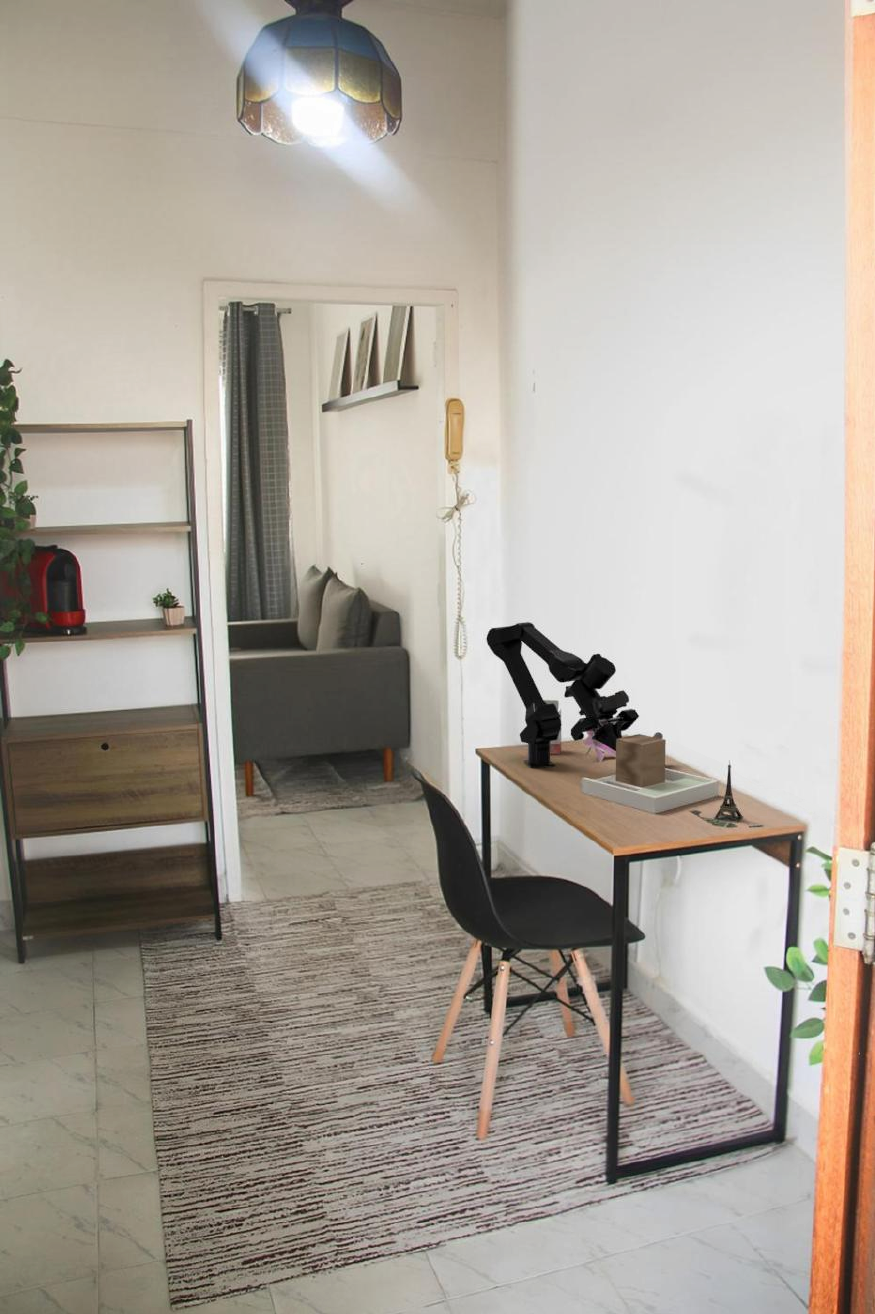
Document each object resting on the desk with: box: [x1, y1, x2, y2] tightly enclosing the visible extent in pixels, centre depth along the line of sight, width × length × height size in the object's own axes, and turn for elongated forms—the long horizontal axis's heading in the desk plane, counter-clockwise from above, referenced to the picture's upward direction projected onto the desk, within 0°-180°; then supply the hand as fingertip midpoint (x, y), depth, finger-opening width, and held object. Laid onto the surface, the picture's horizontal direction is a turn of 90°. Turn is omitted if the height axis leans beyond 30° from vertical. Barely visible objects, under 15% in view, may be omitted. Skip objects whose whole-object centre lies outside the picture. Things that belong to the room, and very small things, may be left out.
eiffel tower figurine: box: [689, 759, 764, 829], centre depth 235 cm, size 15×10×13 cm
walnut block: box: [615, 733, 666, 788], centre depth 256 cm, size 8×8×10 cm
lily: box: [582, 730, 616, 763], centre depth 290 cm, size 12×12×10 cm
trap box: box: [581, 767, 720, 815], centre depth 255 cm, size 22×22×4 cm
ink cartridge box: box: [543, 699, 562, 755], centre depth 297 cm, size 9×5×15 cm, turn 76°
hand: (623, 753), depth 260 cm, fingers closed
